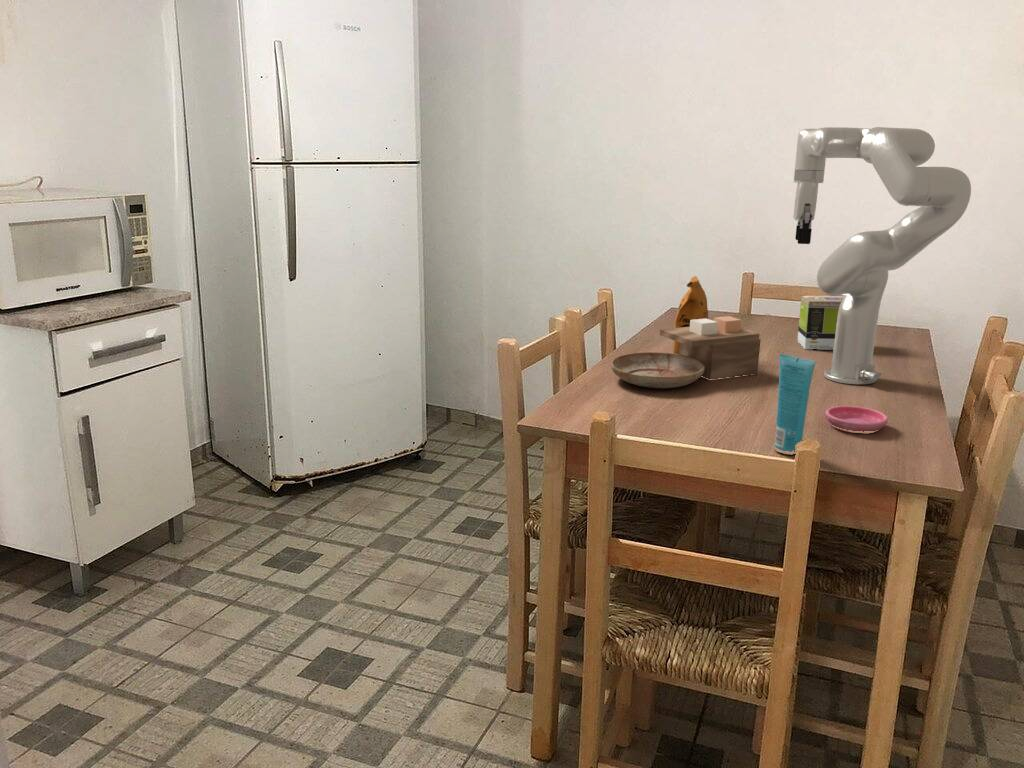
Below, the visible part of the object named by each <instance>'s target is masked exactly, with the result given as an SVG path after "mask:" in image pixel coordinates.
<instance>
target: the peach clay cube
mask: <svg viewBox="0 0 1024 768" xmlns="http://www.w3.org/2000/svg"><path fill="white" fill-rule="evenodd" d="M713 321H716V322H718V328H717V330H718V331H721V332H724V333H727V332H737V331H741V328H742V319H740V318H738V317H733V316H730V315H728V316H727V315H726V316H718V317H713Z"/></svg>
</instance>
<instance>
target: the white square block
mask: <svg viewBox="0 0 1024 768" xmlns="http://www.w3.org/2000/svg"><path fill="white" fill-rule="evenodd" d="M717 328H718V322H716V321H714V319H709V318H708V319H706V318H705V319H694V320H690V330H689V331H690V332H693V333H696V334H699V335H708V334H717Z"/></svg>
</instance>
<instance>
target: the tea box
mask: <svg viewBox="0 0 1024 768" xmlns="http://www.w3.org/2000/svg"><path fill="white" fill-rule="evenodd" d="M844 296H845V295H841V296H832V295H801V298H800V307H799V321H798V328H797V329H798V330H797V343H798V344H799V343H800V344H801V345H800V344H799V345H800V346H801V347H802V346H803V347H802V348H803V349H804V350H813V349H817V350H820V351H824V350H825V351H827V350H828V351H833V350H834V341H835V333H836V325H837V317H838V310H839V306H840V304H841V302H842V300H843V298H844Z"/></svg>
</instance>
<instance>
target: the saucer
mask: <svg viewBox="0 0 1024 768" xmlns="http://www.w3.org/2000/svg"><path fill="white" fill-rule="evenodd" d="M824 415H825V418H826V419H827V421H828V422H829V424H830V425H831V424H832V425H834V426H836V427H839V428H842V429H846V430H852V431H863V432H864V431H876V430H879V431H880V430H881V429H882V428H884V427H885V426H886V425H887V424H888V420H889V417H888V416H887V415H886V414H885V413H884V412H882V411H879V410H877V409H874V408H869V407H865V406H864V407H863V406H858V405H838V406H837V405H836V406H832V407H829V408H828V409H826V410H825V413H824ZM841 418H842V419H841ZM832 425H831V426H832Z"/></svg>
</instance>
